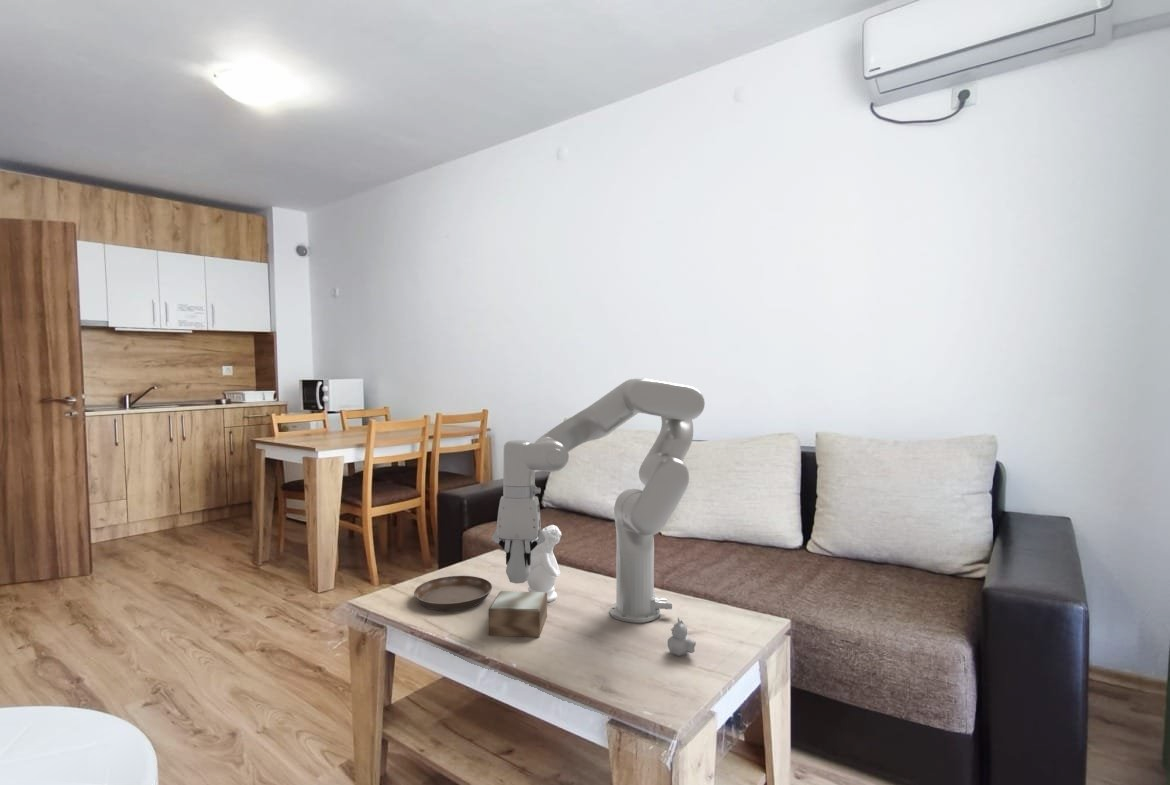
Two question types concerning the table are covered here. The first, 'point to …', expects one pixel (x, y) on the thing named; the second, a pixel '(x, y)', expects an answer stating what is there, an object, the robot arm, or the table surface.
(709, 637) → the table surface
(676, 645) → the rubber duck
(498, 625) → the square box
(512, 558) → the salt shaker
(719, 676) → the table surface
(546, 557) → the cherub figurine
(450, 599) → the plant saucer
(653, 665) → the table surface
